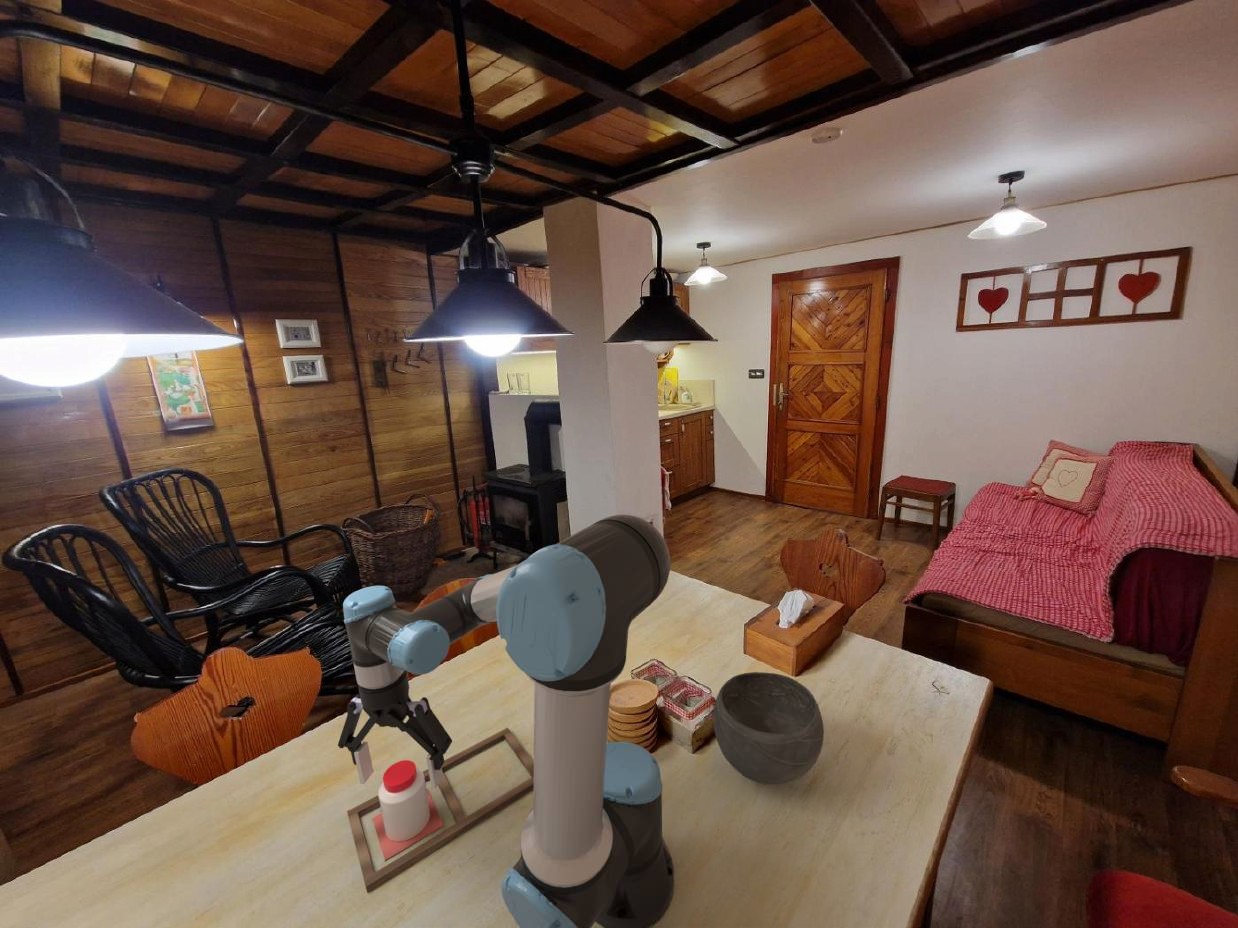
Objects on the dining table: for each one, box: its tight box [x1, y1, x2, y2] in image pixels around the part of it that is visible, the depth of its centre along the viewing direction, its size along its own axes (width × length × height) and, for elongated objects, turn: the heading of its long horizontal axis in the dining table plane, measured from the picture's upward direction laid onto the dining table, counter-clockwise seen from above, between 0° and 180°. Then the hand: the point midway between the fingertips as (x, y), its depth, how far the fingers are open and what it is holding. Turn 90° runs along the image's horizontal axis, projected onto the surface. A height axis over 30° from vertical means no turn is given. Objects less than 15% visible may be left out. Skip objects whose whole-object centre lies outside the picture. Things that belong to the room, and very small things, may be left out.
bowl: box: [712, 671, 825, 786], centre depth 99 cm, size 21×21×15 cm
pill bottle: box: [377, 759, 430, 842], centre depth 90 cm, size 8×8×11 cm
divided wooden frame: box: [347, 727, 534, 893], centre depth 95 cm, size 17×32×1 cm, turn 127°
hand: (401, 780), depth 88 cm, fingers open, 13 cm apart
